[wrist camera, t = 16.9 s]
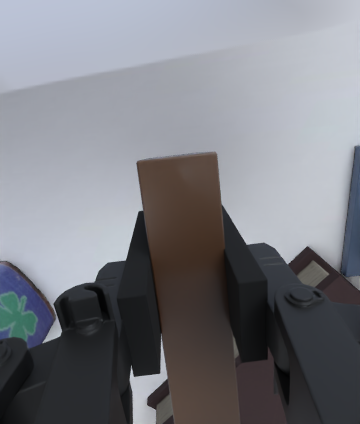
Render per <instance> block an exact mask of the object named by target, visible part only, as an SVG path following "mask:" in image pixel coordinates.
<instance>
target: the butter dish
mask: <svg viewBox="0 0 360 424" xmlns="http://www.w3.org/2000/svg"><path fill="white" fill-rule="evenodd" d="M341 273H342V274H343V275H344V276H345V277H351V276H360V146H356V148H355V157H354V165H353V173H352V182H351V190H350V198H349V207H348V215H347V224H346V232H345V240H344V249H343V257H342V266H341Z"/></svg>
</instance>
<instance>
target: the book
mask: <svg viewBox="0 0 360 424" xmlns="http://www.w3.org/2000/svg"><path fill="white" fill-rule="evenodd" d="M288 266H289V267H290V268H291V270H292V271H293V272H294V273H295V275H296V276H297V277H298V278H299V280H300V281H301V282H302V283H303V284H306V285H309V286H313V287H315V288H317V289H319V290H321V291H322V292H323V293H324V294H325V295H326V296H327V297H328V298H329V299H330V301H331V302H337V303H344V304H355V305H360V291H359V290H358V289H357V288H356V287H354V286H353V285H352V284H351V283H350V282H349V281H347V280H346V279H345V278H344V277H343V276H342V275H341V274H339V273H338V272H337V271H336V270H335V269H334V268H332V267H331V266H330V265H329V264H328V263H327V262H325V261H324V260H323V259H322V258H321V257H320V256H318V255H317V254H316V253H315V252H314V251H313V250H312V249H310V248H309V247H308V246H307V247H306V248H305V249H304V250H303V251H302V252H301V253H300V254H299V255H298V256H297V257H296V258H295V259H294V260H293V261H292V262H290V263H289V264H288ZM233 343H234V355H235V366H236V378H237V390H238V401H239V413H240V424H287V420H286V417H285V413H284V409H283V406H282V402H281V398H280V395H279V391H278V395H274V358H273V356H272V354H271V352H270V349H269V347H268V360H262V361H254V362H247V363H242V362H241V359H240V355H239V352H238V349H237V345H236V342H235V339H234V336H233ZM147 405H148V406H150V407H152V408H154V409H155V410H156V424H174V418H173V411H172V404H171V398H170V391H169V384H168V379H167V380H166V381H165V382H164V383H163V384H162V385H161V386H160V387H159V388H158V389H156V390H155V391H154V392H153V393H152V394H151V395H150V396H149V397H148V401H147Z"/></svg>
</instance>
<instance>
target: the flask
mask: <svg viewBox="0 0 360 424" xmlns="http://www.w3.org/2000/svg"><path fill="white" fill-rule="evenodd" d="M54 321H55V314H54V310H53V309H52V307H51V306H50V304H49V302H48V301H47V300H46V297H45V296H44V294H42V293H41V291H40V290H39V289H37V288H36V287H35V285H34V284H33V283H32V282H31V281H30V280H29V279H28V278H27V277H26V276H25V274H23V273H22V272H21V271H20V270H19V269H18V268H17V267H15V266H13V265H12V264H11V263H8V262H7V261H6V262H3V261H2V262H0V340H1V339H4V338H10V337H18V338H22V339H23V340H25V341H26V342H27V345H28V347H29V348H32V347H35V346H37V345H40V344H42V343H43V341H44V339H45V338H46V336H47V334H48V332H49V330H50V328H51V326H52V325H53V322H54Z"/></svg>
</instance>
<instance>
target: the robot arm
mask: <svg viewBox="0 0 360 424" xmlns="http://www.w3.org/2000/svg"><path fill="white" fill-rule="evenodd" d="M222 216H223V227H224V239H225V249H224V256H225V267H226V279H227V290H228V302H229V313H230V325H231V329H232V332H233V336H234V339H235V342H236V345H237V349H238V352H239V355H240V359H241V362H242V363H247V362H254V361H262V360H268V347H269V349H270V352H271V354H272V356H273V358H274V395H278V391H279V395H280V398H281V402H282V406H283V409H284V413H285V417H286V420H287V424H360V305H355V304H344V303H337V302H331V301H330V299H329V298H328V297H327V296H326V295H325V294H324V293H323V292H322V291H321V290H319V289H317V288H315V287H313V286H309V285H306V284H303V283H302V282H301V281H300V280H299V278H298V277H297V276H296V275H295V273H294V272H293V271H292V270H291V268H290V267H289V266H288V265H287V264H286V262H285V261H284V260H283V258H282V257H281V256H280V254H279V253H278V252H277V251H276V249H275V248H273V247H271V246H269V245H267V244H266V243H258V244H250V245H246V243H245V241H244V240H243V238H242V237H241V235H240V233H239V232H238V230H237V228H236V227H235V225H234V223H233V222H232V220H231V218H230V217H229V215H228V214H227V212H226V210H225V209H224V207H223V205H222ZM54 307H55V310H56V313H57V316H58V319H59V322H60V325H61V329H62V333H61V336H60V337H58V338H56V339H53V340H51V341H49V342H46V343H43V344H40V345H37V346H35V347H32V348H29V347H28V345H27V342H26V341H25V340H23V339H22V338H18V337H10V338H4V339H1V340H0V424H133V404H132V389H131V385H130V381H129V378H130V371H131V365H132V370H133V374H134V377H136V376H144V375H152V374H160V360H161V329H160V322H159V315H158V308H157V301H156V294H155V288H154V281H153V274H152V267H151V260H150V253H149V246H148V239H147V233H146V226H145V219H144V212H143V211H139V212H138V216H137V220H136V224H135V228H134V232H133V236H132V240H131V243H130V247H129V251H128V255H127V259H126V261H119V262H111V263H107V264H106V265H105V266H104V267H103V268H102V269H101V270H99V272H98V275H97V277H96V281H95V282H94V283H85V284H81V285H78V286H75V287H73V288H71V289H69V290H67V291H65V292H64V293H63V294H61V295H60V296H59V297H58V298H57V299H56V301H55V302H54Z"/></svg>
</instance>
